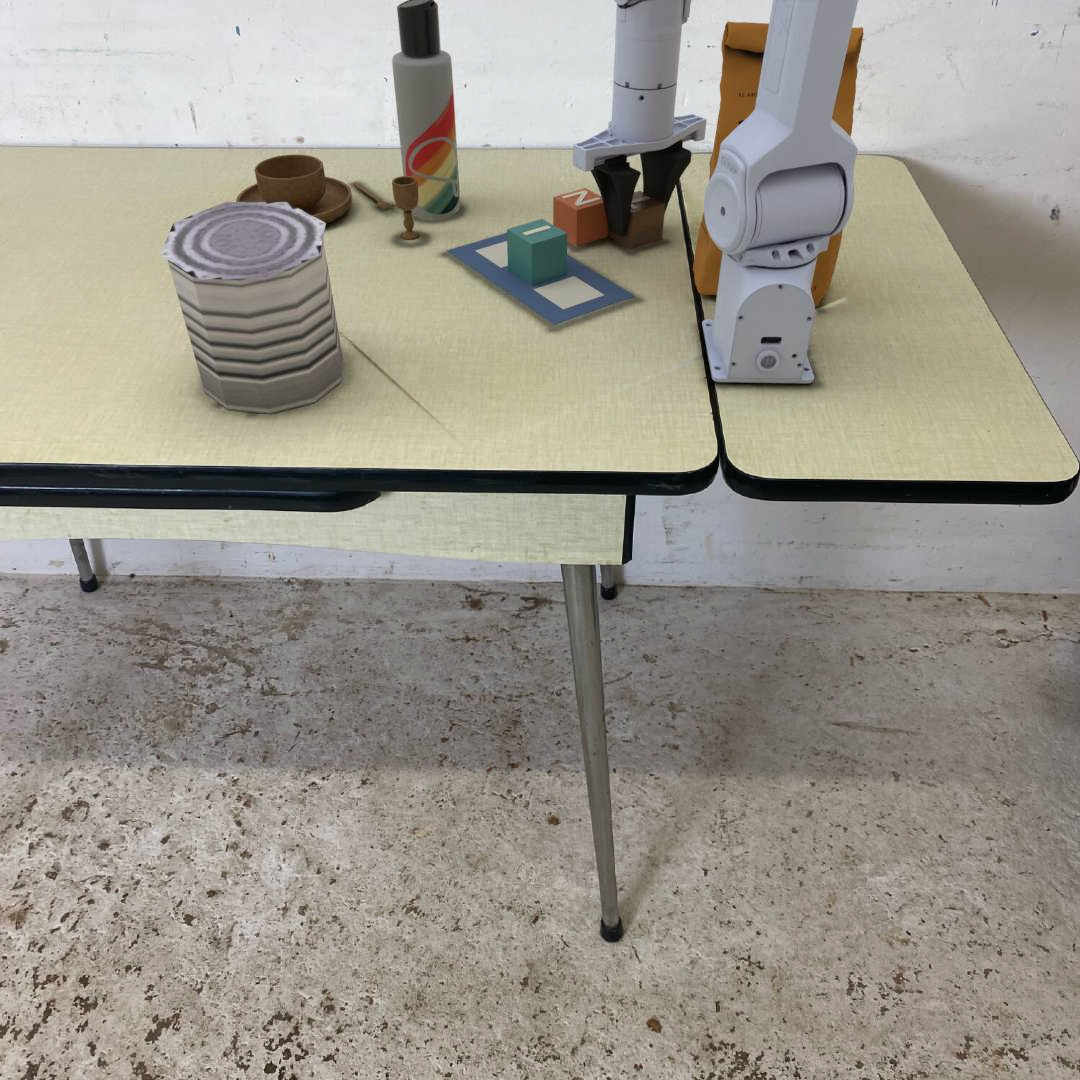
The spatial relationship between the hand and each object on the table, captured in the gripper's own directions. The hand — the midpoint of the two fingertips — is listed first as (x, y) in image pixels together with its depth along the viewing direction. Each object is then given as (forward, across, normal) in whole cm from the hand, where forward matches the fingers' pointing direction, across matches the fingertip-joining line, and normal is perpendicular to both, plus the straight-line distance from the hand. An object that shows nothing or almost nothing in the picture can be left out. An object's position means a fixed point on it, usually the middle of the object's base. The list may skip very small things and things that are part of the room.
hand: (635, 227), depth 94 cm
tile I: (+1, +12, +1) cm, 12 cm away
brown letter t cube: (+1, 0, 0) cm, 1 cm away
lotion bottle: (+2, +13, -18) cm, 22 cm away
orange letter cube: (+1, +4, -4) cm, 6 cm away
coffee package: (+2, -3, +15) cm, 15 cm away
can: (+2, +40, +3) cm, 40 cm away
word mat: (+1, +12, +1) cm, 12 cm away
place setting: (+2, +25, -22) cm, 33 cm away
